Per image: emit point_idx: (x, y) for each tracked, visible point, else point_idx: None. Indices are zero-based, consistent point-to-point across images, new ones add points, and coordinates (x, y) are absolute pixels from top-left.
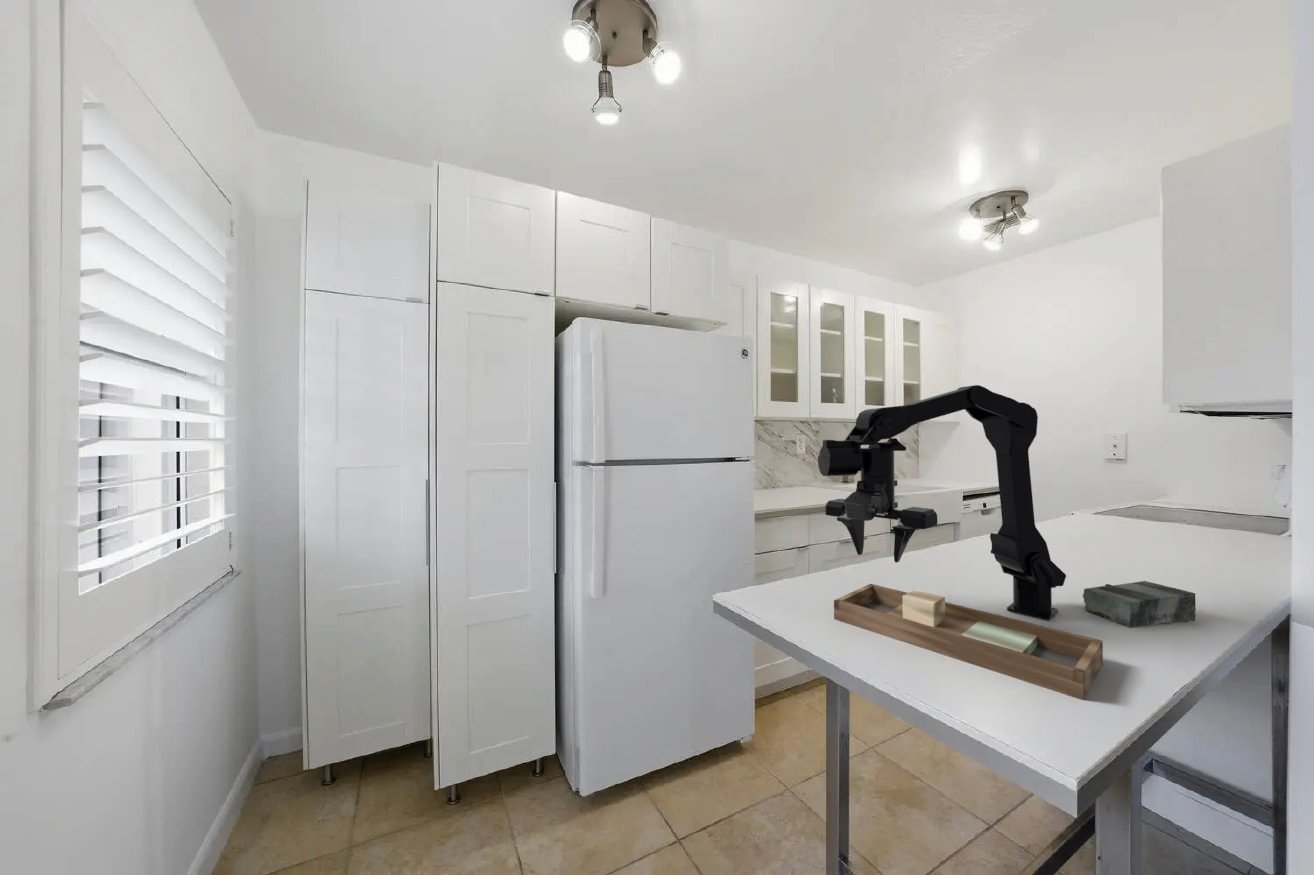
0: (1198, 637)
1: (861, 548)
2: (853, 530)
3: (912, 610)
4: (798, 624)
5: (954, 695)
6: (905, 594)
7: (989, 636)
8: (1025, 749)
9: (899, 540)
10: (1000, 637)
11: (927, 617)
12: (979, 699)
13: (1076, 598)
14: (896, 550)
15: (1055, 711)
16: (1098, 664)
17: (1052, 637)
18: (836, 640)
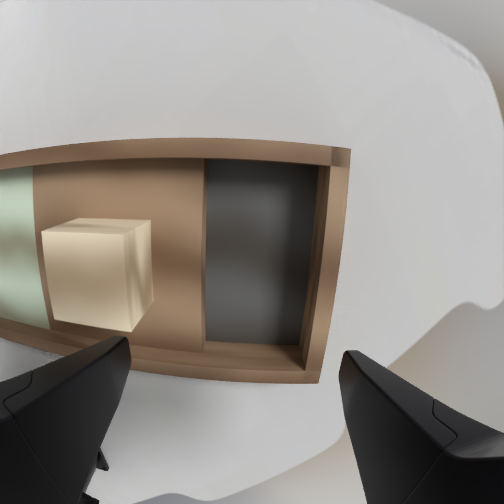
0: None
1: (348, 389)
2: (447, 439)
3: (111, 225)
4: (379, 60)
5: (30, 31)
6: (123, 258)
7: (10, 256)
8: None
9: (8, 390)
10: (1, 264)
11: (79, 222)
12: (8, 53)
13: (87, 494)
14: (75, 362)
15: None
16: None
17: None
18: (259, 32)
